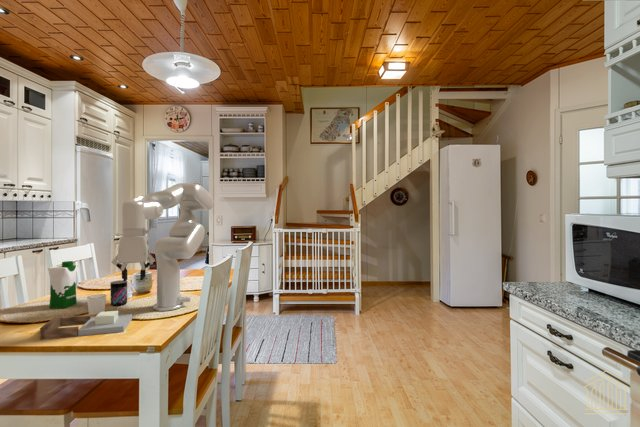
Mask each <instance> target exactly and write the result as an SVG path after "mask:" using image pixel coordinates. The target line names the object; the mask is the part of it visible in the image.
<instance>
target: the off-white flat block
mask: <svg viewBox="0 0 640 427" xmlns="http://www.w3.org/2000/svg"><path fill="white" fill-rule="evenodd" d="M118 315H119V310H111V311H109V310H108V311H105V312H100V313H99V314H96V316H94V317H95V325H104V324H114V323H115V322H116V320H117V319H118Z"/></svg>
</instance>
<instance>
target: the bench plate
mask: <svg viewBox="0 0 640 427" xmlns="http://www.w3.org/2000/svg"><path fill="white" fill-rule="evenodd" d="M95 317H96V316H91V319H90V320H88V321H87V322H86V323H85V324H82V326H80V328H79V330H78V336H77V337H81V336H94V335H102V334H103V335H105V334H113V333H124V332H125V330H126V329H127V327H128V326H129V324H130V323H131V322H132V320H133V314H132V313H130V314H129V313H128V314H118V319H117V320H116V322H115V323H114V324H104V325H95Z"/></svg>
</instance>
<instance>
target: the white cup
mask: <svg viewBox="0 0 640 427" xmlns="http://www.w3.org/2000/svg"><path fill="white" fill-rule="evenodd" d="M86 300H87V309H88V310H87V311H88V315H91V316H92V315H98V314H99V313H100V312H106V301H107V295H106V294H92V295H89V296H87V297H86Z"/></svg>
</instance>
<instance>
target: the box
mask: <svg viewBox="0 0 640 427" xmlns="http://www.w3.org/2000/svg"><path fill="white" fill-rule="evenodd" d="M91 318H92V315H91V314H86V315H85V314H83V315H72V316H70V315H69V316H63V314H57V315H56V316H55V317H53V318H52V319H51V320H49V321H48V322H46V323H45V324H43V325H42V326H41V327H40V328H39V329H40V330H39V332H40V333H39V336H40V337H39V338H40V340H49V339H50V340H51V339H60V338H70V337H79V336H78V330H79V329H80V328H79V326H75V325H84V324H85V323H86V322H87V321H88V320H90V319H91ZM73 325H74V326H73ZM65 326H67V327H65Z"/></svg>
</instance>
